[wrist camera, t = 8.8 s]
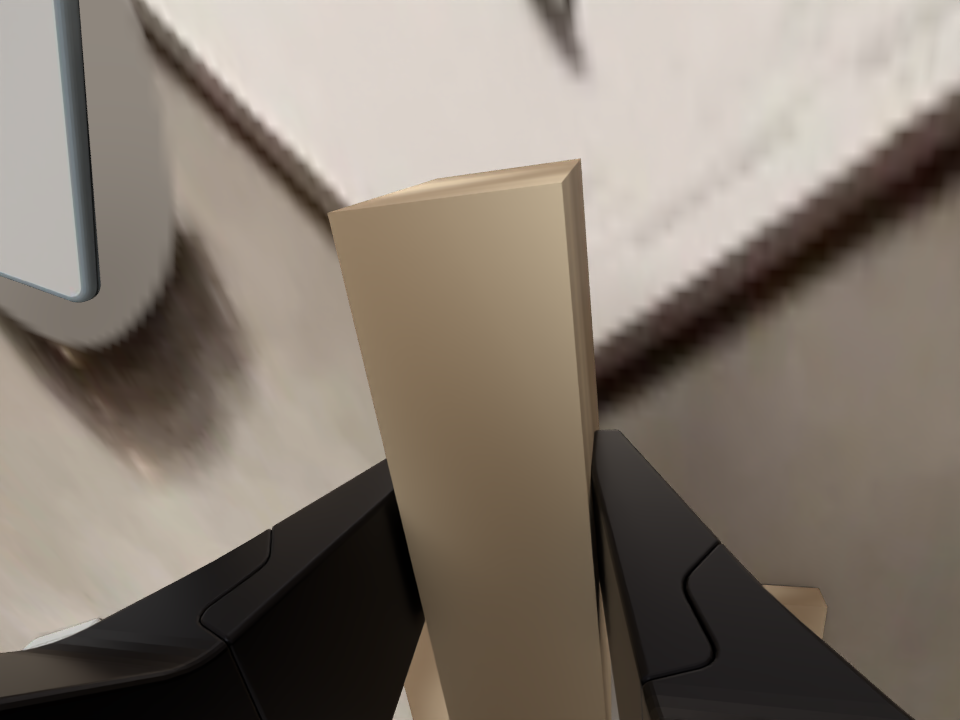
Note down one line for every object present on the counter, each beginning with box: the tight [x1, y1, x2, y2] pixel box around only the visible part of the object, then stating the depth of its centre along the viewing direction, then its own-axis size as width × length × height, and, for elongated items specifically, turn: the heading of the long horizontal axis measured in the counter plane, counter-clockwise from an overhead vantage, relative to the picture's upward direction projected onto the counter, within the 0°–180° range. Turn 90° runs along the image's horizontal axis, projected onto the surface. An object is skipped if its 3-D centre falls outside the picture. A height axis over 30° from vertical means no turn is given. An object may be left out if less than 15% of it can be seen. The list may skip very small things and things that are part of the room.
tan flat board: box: [404, 585, 827, 720], centre depth 23 cm, size 16×14×1 cm
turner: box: [328, 159, 619, 720], centre depth 10 cm, size 5×14×4 cm, turn 8°
